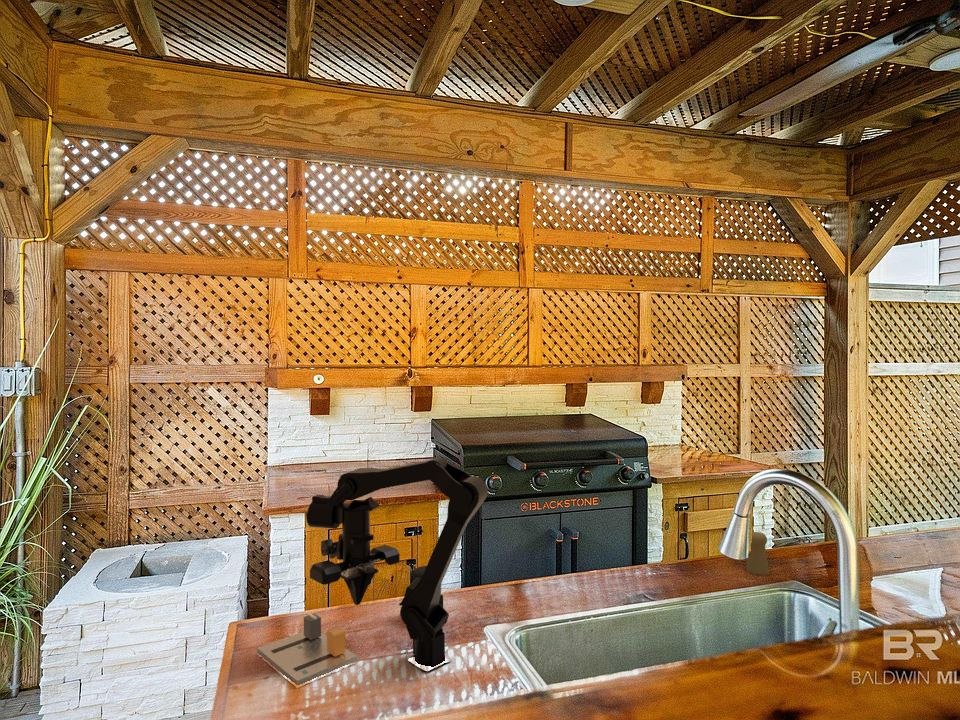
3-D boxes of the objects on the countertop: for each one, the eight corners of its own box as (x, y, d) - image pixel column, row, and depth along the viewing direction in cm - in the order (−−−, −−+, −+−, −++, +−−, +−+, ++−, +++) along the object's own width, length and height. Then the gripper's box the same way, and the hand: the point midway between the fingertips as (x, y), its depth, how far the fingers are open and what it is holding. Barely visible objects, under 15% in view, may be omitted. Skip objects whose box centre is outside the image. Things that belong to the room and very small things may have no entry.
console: (357, 663, 116) (357, 655, 116) (297, 688, 107) (297, 680, 107) (314, 634, 129) (314, 627, 129) (257, 655, 120) (256, 647, 120)
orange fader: (345, 652, 117) (345, 630, 117) (334, 656, 115) (334, 634, 115) (337, 647, 119) (337, 625, 119) (327, 651, 117) (326, 629, 117)
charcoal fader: (321, 636, 124) (320, 615, 124) (310, 640, 122) (310, 619, 122) (314, 631, 126) (314, 611, 126) (303, 635, 124) (303, 615, 124)
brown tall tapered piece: (741, 569, 165) (740, 531, 166) (755, 566, 168) (755, 528, 168) (759, 576, 160) (758, 537, 160) (774, 572, 163) (773, 534, 163)
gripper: (372, 514, 133) (373, 582, 133) (296, 531, 120) (297, 606, 120) (400, 523, 125) (401, 595, 125) (323, 542, 112) (324, 623, 112)
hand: (357, 604), depth 121 cm, fingers closed
